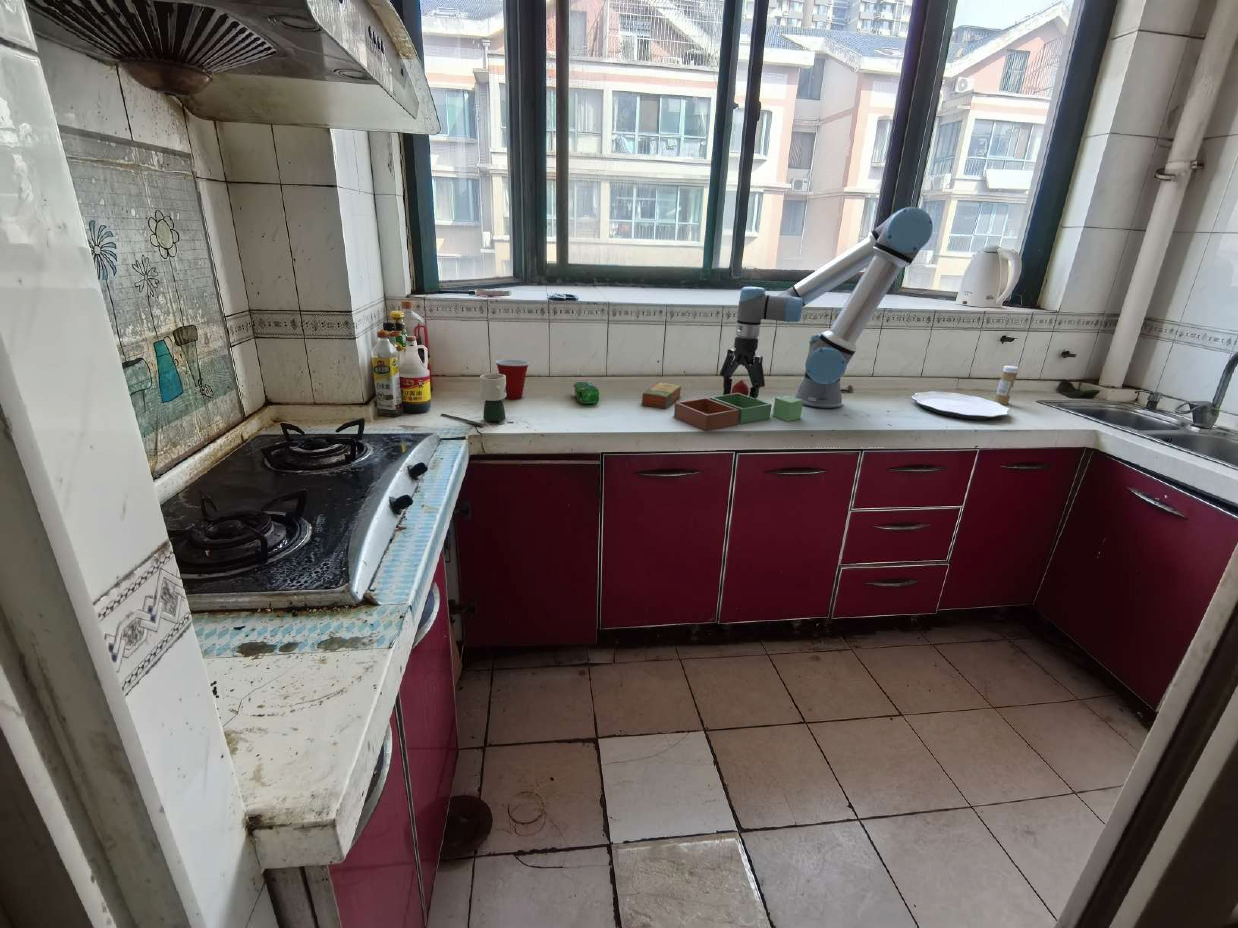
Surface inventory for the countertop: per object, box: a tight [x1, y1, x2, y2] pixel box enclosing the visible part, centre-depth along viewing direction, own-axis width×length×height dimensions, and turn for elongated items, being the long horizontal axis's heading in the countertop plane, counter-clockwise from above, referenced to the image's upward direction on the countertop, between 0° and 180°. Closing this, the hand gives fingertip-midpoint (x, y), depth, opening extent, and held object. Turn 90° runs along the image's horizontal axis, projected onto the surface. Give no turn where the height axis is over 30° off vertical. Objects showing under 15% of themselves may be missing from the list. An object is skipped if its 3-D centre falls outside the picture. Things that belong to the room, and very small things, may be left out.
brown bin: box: [673, 397, 739, 431], centre depth 178 cm, size 13×15×5 cm
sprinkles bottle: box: [993, 365, 1020, 406], centre depth 211 cm, size 5×5×13 cm
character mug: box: [479, 373, 507, 423], centre depth 168 cm, size 11×7×13 cm, turn 31°
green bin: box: [708, 393, 772, 425], centre depth 186 cm, size 13×15×5 cm
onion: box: [731, 378, 750, 396], centre depth 198 cm, size 6×6×8 cm
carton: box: [641, 382, 682, 409], centre depth 196 cm, size 8×16×4 cm, turn 158°
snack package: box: [573, 381, 600, 405], centre depth 194 cm, size 7×16×5 cm, turn 11°
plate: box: [911, 390, 1011, 421], centre depth 203 cm, size 29×29×2 cm
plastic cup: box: [494, 359, 530, 400], centre depth 191 cm, size 11×11×12 cm
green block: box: [772, 395, 803, 422], centre depth 185 cm, size 6×6×6 cm
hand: (738, 402), depth 199 cm, fingers open, 11 cm apart
